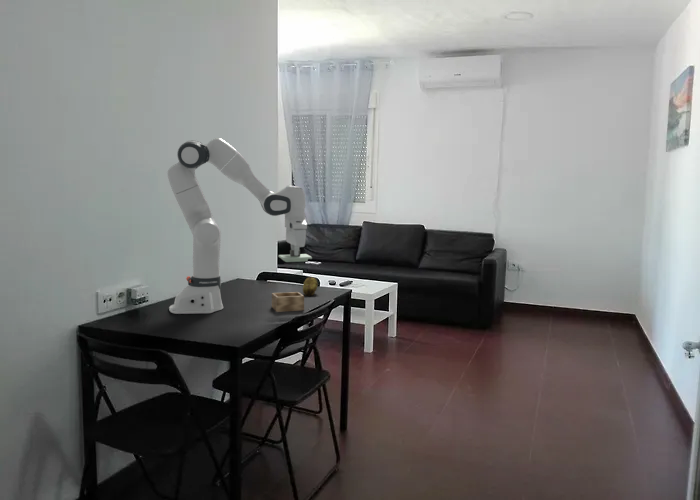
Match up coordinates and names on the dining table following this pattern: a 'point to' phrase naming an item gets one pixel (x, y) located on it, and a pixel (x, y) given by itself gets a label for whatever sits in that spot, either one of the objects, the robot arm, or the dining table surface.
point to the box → (287, 301)
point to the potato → (310, 286)
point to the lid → (295, 257)
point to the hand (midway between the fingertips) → (295, 254)
